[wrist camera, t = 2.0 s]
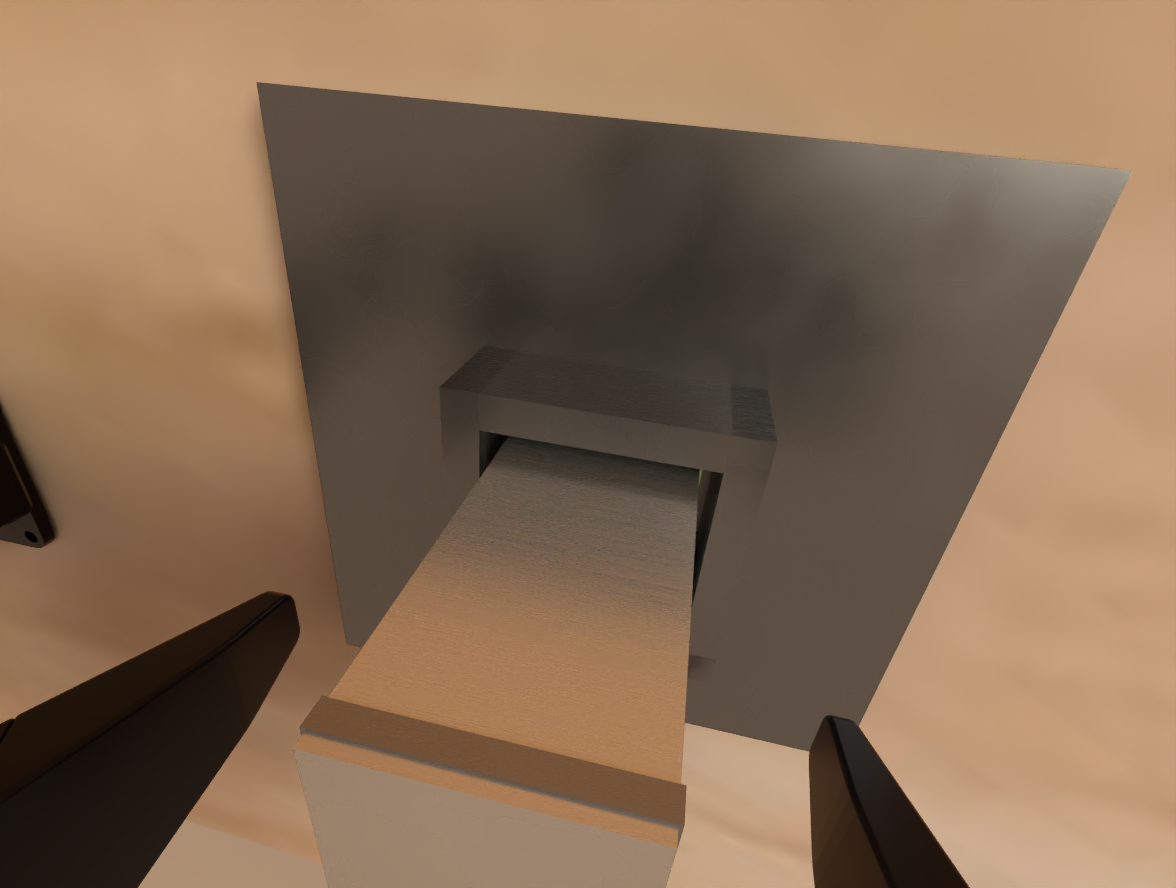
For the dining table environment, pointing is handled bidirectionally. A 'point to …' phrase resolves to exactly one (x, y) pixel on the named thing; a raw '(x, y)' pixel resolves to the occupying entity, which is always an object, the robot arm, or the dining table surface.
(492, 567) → the post
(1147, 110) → the dining table surface
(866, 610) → the stand base
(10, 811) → the robot arm
